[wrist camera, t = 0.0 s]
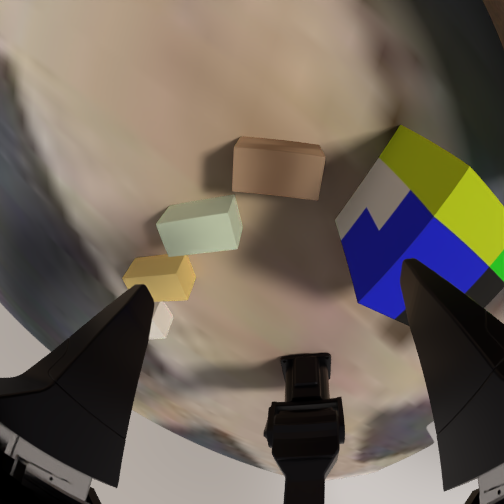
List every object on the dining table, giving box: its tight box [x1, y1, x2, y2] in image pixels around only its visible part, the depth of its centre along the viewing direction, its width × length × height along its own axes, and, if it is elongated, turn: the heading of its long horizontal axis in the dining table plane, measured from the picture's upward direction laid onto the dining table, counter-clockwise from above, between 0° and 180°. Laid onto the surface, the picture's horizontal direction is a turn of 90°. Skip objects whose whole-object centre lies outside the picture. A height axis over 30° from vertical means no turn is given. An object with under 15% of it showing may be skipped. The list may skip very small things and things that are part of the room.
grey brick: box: [149, 301, 174, 339], centre depth 32 cm, size 6×3×4 cm, turn 107°
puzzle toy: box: [335, 125, 504, 326], centre depth 18 cm, size 10×10×10 cm
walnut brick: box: [232, 137, 326, 201], centre depth 20 cm, size 6×3×4 cm, turn 86°
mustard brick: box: [122, 254, 196, 302], centre depth 28 cm, size 6×3×4 cm, turn 101°
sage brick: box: [156, 194, 243, 257], centre depth 24 cm, size 6×3×4 cm, turn 101°
